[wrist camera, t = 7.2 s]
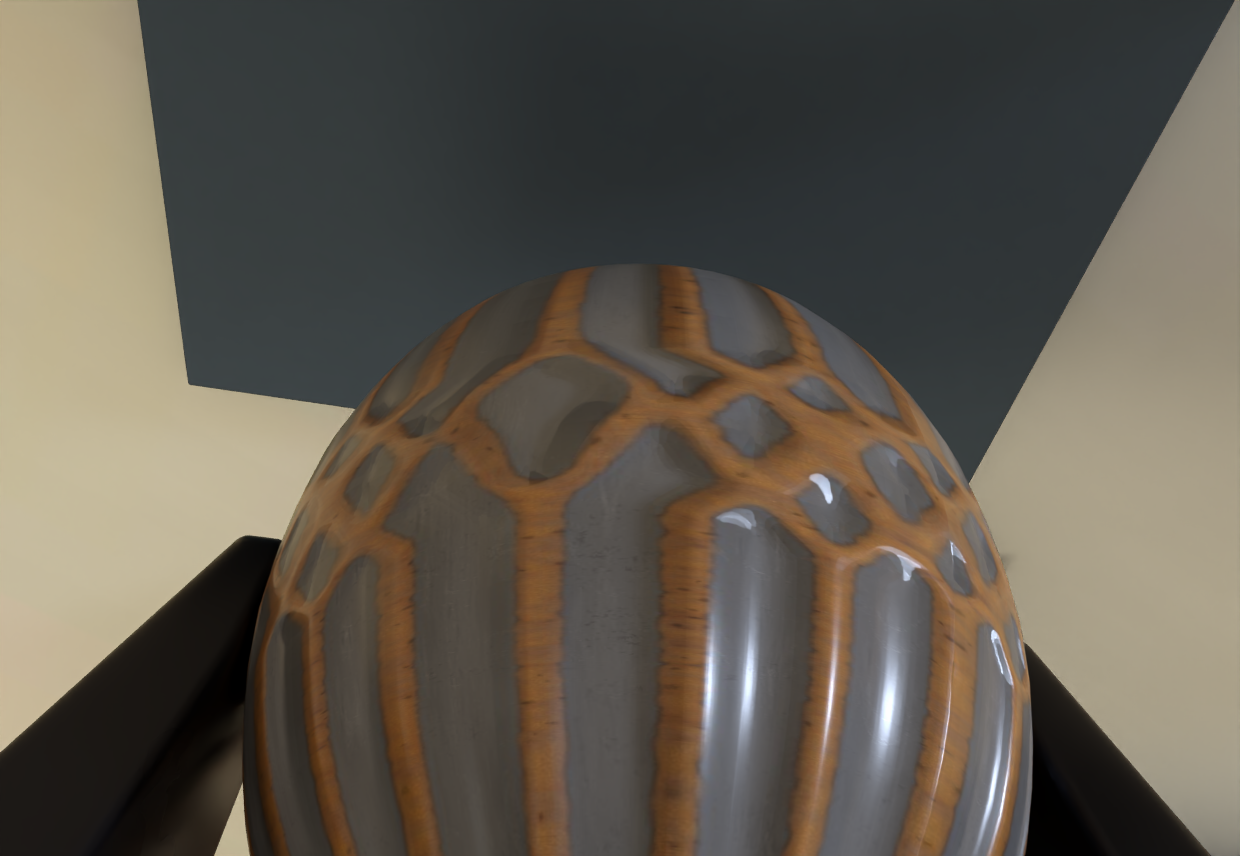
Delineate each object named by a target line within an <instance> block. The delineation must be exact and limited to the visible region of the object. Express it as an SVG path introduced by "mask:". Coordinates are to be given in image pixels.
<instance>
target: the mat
mask: <svg viewBox="0 0 1240 856" xmlns="http://www.w3.org/2000/svg"><path fill="white" fill-rule="evenodd" d="M1233 2H1234V0H138V8H139V15H140V23H141V30H142V38H143V46H144V53H145V61H146V68H147V76H148V83H149V91H150V98H151V106H152V113H153V121H154V128H155V136H156V144H157V151H158V159H159V166H160V174H161V181H162V189H163V196H164V204H165V211H166V219H167V226H168V234H169V242H170V249H171V257H172V264H173V272H174V279H175V287H176V294H177V302H178V309H179V317H180V324H181V332H182V339H183V347H184V355H185V362H186V370H187V377H188V383H189V384H190V385H195V386H202V387H209V388H216V389H223V390H230V391H237V392H244V393H251V394H257V395H264V396H271V397H278V398H285V399H292V400H299V401H306V402H313V403H319V404H326V405H333V406H340V407H347V408H354V409H356V408H357V407H358V406H359V404H360V403H361V402H362V401H363V399H364V398H365V397H366V396H367V394H368V393H369V392H370V391H371V389H372V388H373V387H374V386H375V385H376V384H377V383H378V382H379V381H380V380H381V379H382V378H383V377H384V376H385V375H386V374H387V373H388V372H389V371H390V370H391V369H392V368H393V367H394V366H395V365H396V364H397V363H398V362H399V361H400V360H402V359H403V358H404V357H405V356H406V355H407V354H408V353H409V352H410V351H411V350H412V349H413V348H415V347H416V346H417V345H418V344H419V343H421V342H422V341H423V340H424V339H425V338H426V337H428V336H429V335H431V334H432V333H433V332H435V331H436V330H438V329H439V328H440V327H442V326H443V325H445V324H446V323H448V322H449V321H451V320H453V319H454V318H456V317H457V316H459V315H461V314H462V313H464V312H466V311H467V310H469V309H471V308H472V307H474V306H476V305H477V304H479V303H481V302H482V301H484V300H486V299H488V298H490V297H492V296H494V295H496V294H499V293H501V292H503V291H505V290H507V289H510V288H512V287H515V286H518V285H520V284H523V283H525V282H528V281H532V280H535V279H538V278H541V277H544V276H548V275H552V274H556V273H561V272H565V271H569V270H575V269H581V268H587V267H593V266H604V265H615V264H659V265H672V266H681V267H690V268H696V269H701V270H706V271H712V272H716V273H720V274H724V275H728V276H732V277H736V278H739V279H742V280H745V281H748V282H751V283H754V284H757V285H760V286H762V287H764V288H767V289H769V290H772V291H774V292H776V293H779V294H781V295H783V296H785V297H787V298H789V299H791V300H793V301H795V302H797V303H798V304H800V305H802V306H803V307H805V308H807V309H808V310H810V311H811V312H813V313H814V314H816V315H817V316H819V317H821V318H822V319H824V320H825V321H827V322H828V323H830V324H831V325H833V326H834V327H836V328H837V329H839V330H840V331H842V332H843V333H845V334H846V335H848V336H849V337H850V338H851V339H853V340H854V341H855V342H856V343H858V344H859V345H860V346H861V347H863V348H864V349H865V350H866V351H867V352H868V353H869V354H870V355H872V356H873V357H874V358H875V359H876V360H877V361H878V362H879V363H880V364H881V365H882V366H883V367H884V368H885V369H886V370H887V371H888V372H889V373H890V374H891V375H892V376H893V377H894V378H895V379H896V381H897V382H898V383H899V384H900V385H901V386H902V387H903V388H904V389H905V390H906V391H907V392H908V393H909V394H910V395H911V397H912V398H913V399H914V401H915V402H916V403H917V404H918V406H919V407H920V408H921V410H922V411H923V412H924V414H925V415H926V416H927V418H928V419H929V420H930V422H931V423H932V424H933V426H934V427H935V429H936V430H937V431H938V433H939V434H940V435H941V437H942V438H943V439H944V441H945V442H946V444H947V445H948V447H949V448H950V450H951V452H952V453H953V455H954V457H955V458H956V460H957V461H958V463H959V465H960V467H961V469H962V471H963V474H964V476H965V478H966V480H967V482H968V484H969V482H970V480H971V479H972V477H973V475H974V473H975V471H976V469H977V468H978V466H979V464H980V462H981V460H982V459H983V457H984V455H985V453H986V451H987V449H988V448H989V446H990V444H991V442H992V440H993V439H994V437H995V435H996V433H997V431H998V429H999V428H1000V426H1001V424H1002V422H1003V420H1004V419H1005V417H1006V415H1007V413H1008V411H1009V409H1010V408H1011V406H1012V404H1013V402H1014V400H1015V399H1016V397H1017V395H1018V393H1019V391H1020V389H1021V388H1022V386H1023V384H1024V382H1025V380H1026V379H1027V377H1028V375H1029V373H1030V371H1031V369H1032V368H1033V366H1034V364H1035V362H1036V360H1037V359H1038V357H1039V355H1040V353H1041V351H1042V349H1043V348H1044V346H1045V344H1046V342H1047V340H1048V339H1049V337H1050V335H1051V333H1052V331H1053V329H1054V328H1055V326H1056V324H1057V322H1058V320H1059V319H1060V317H1061V315H1062V313H1063V311H1064V309H1065V308H1066V306H1067V304H1068V302H1069V300H1070V299H1071V297H1072V295H1073V293H1074V291H1075V289H1076V288H1077V286H1078V284H1079V282H1080V280H1081V279H1082V277H1083V275H1084V273H1085V271H1086V269H1087V268H1088V266H1089V264H1090V262H1091V260H1092V259H1093V257H1094V255H1095V253H1096V251H1097V249H1098V248H1099V246H1100V244H1101V242H1102V240H1103V239H1104V237H1105V235H1106V233H1107V231H1108V229H1109V228H1110V226H1111V224H1112V222H1113V220H1114V219H1115V217H1116V215H1117V213H1118V211H1119V209H1120V208H1121V206H1122V204H1123V202H1124V200H1125V199H1126V197H1127V195H1128V193H1129V191H1130V189H1131V188H1132V186H1133V184H1134V182H1135V180H1136V179H1137V177H1138V175H1139V173H1140V171H1141V169H1142V168H1143V166H1144V164H1145V162H1146V160H1147V159H1148V157H1149V155H1150V153H1151V151H1152V149H1153V148H1154V146H1155V144H1156V142H1157V140H1158V139H1159V137H1160V135H1161V133H1162V131H1163V129H1164V128H1165V126H1166V124H1167V122H1168V120H1169V119H1170V117H1171V115H1172V113H1173V111H1174V109H1175V108H1176V106H1177V104H1178V102H1179V100H1180V99H1181V97H1182V95H1183V93H1184V91H1185V89H1186V88H1187V86H1188V84H1189V82H1190V80H1191V79H1192V77H1193V75H1194V73H1195V71H1196V69H1197V68H1198V66H1199V64H1200V62H1201V60H1202V59H1203V57H1204V55H1205V53H1206V51H1207V49H1208V48H1209V46H1210V44H1211V42H1212V40H1213V39H1214V37H1215V35H1216V33H1217V31H1218V29H1219V28H1220V26H1221V24H1222V22H1223V20H1224V19H1225V17H1226V15H1227V13H1228V11H1229V9H1230V8H1231V6H1232V4H1233Z"/></svg>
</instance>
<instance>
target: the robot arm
mask: <svg viewBox="0 0 1240 856" xmlns="http://www.w3.org/2000/svg"><path fill="white" fill-rule="evenodd" d="M281 542H282V540H279V539H273V538H266V537H258V536H243V537H241V538H239V539H237V540H236V541H235V542H234V543H233V544H232V545H230V546H229V547H228V548H227V549H226V550H225V551H224V552H223V553H221V554H220V555H219V556H218V557H217V558H216V559H215V560H214V561H213V562H212V563H210V564H209V565H208V566H207V567H206V568H205V569H204V570H203V571H202V572H200V573H199V574H198V575H197V576H196V577H195V578H194V579H193V580H192V581H190V582H189V583H188V584H187V585H186V586H185V587H184V588H183V589H182V590H180V591H179V592H178V593H177V594H176V595H175V596H174V597H173V598H172V599H170V600H169V601H168V602H167V603H166V604H165V605H164V606H163V607H162V608H160V609H159V610H158V611H157V612H156V613H155V614H154V615H153V616H152V617H150V618H149V619H148V620H147V621H146V622H145V623H144V624H143V625H142V626H140V627H139V628H138V629H137V630H136V631H135V632H134V633H133V634H132V635H130V636H129V637H128V638H127V639H126V640H125V641H124V642H123V643H122V644H120V645H119V646H118V647H117V648H116V649H115V650H114V651H113V652H112V653H110V654H109V655H108V656H107V657H106V658H105V659H104V660H103V661H102V662H100V663H99V664H98V665H97V666H96V667H95V668H94V669H93V670H92V671H90V672H89V673H88V674H87V675H86V676H85V677H84V678H83V679H82V680H80V681H79V682H78V683H77V684H76V685H75V686H74V687H73V688H72V689H70V690H69V691H68V692H67V693H66V694H65V695H64V696H63V697H62V698H60V699H59V700H58V701H57V702H56V703H55V704H54V705H53V706H52V707H50V708H49V709H48V710H47V711H46V712H45V713H44V714H43V715H42V716H40V717H39V718H38V719H37V720H36V721H35V722H34V723H33V724H32V725H30V726H29V727H28V728H27V729H26V730H25V731H24V732H23V733H22V734H20V735H19V736H18V737H17V738H16V739H15V740H14V741H13V742H12V743H10V744H9V745H8V746H7V747H6V748H5V749H4V750H3V751H2V752H0V856H214V854H215V852H216V849H217V847H218V844H219V842H220V839H221V836H222V834H223V831H224V829H225V826H226V824H227V821H228V818H229V816H230V813H231V811H232V808H233V806H234V803H235V801H236V798H237V795H238V793H239V790H240V788H241V785H242V782H243V776H242V752H243V718H244V704H245V693H246V681H247V670H248V663H249V657H250V652H251V646H252V641H253V636H254V630H255V625H256V620H257V615H258V611H259V606H260V603H261V600H262V597H263V594H264V591H265V588H266V585H267V582H268V579H269V575H270V572H271V569H272V566H273V563H274V560H275V558H276V555H277V552H278V549H279V547H280V544H281ZM1024 648H1025V654H1026V661H1027V667H1028V674H1029V681H1030V696H1031V716H1032V736H1033V762H1032V794H1031V805H1030V816H1029V827H1028V837H1027V846H1026V852H1025V856H1211V855H1210V854H1209V853H1208V852H1207V851H1206V849H1205V848H1204V847H1203V846H1202V845H1201V844H1200V843H1199V841H1198V840H1197V839H1196V838H1195V837H1194V836H1193V834H1192V833H1191V832H1190V831H1189V830H1188V829H1187V828H1186V826H1185V825H1184V824H1183V823H1182V822H1181V821H1180V819H1179V818H1178V817H1177V816H1176V815H1175V814H1174V813H1173V811H1172V810H1171V809H1170V808H1169V807H1168V806H1167V805H1166V803H1165V802H1164V801H1163V800H1162V799H1161V798H1160V796H1159V795H1158V794H1157V793H1156V792H1155V791H1154V790H1153V788H1152V787H1151V786H1150V785H1149V784H1148V783H1147V781H1146V780H1145V779H1144V778H1143V777H1142V776H1141V775H1140V773H1139V772H1138V771H1137V770H1136V769H1135V768H1134V766H1133V765H1132V764H1131V763H1130V762H1129V761H1128V760H1127V758H1126V757H1125V756H1124V755H1123V754H1122V753H1121V751H1120V750H1119V749H1118V748H1117V747H1116V746H1115V745H1114V743H1113V742H1112V741H1111V740H1110V739H1109V738H1108V736H1107V735H1106V734H1105V733H1104V732H1103V731H1102V730H1101V728H1100V727H1099V726H1098V725H1097V724H1096V723H1095V721H1094V720H1093V719H1092V718H1091V717H1090V716H1089V715H1088V713H1087V712H1086V711H1085V710H1084V709H1083V708H1082V707H1081V705H1080V704H1079V703H1078V702H1077V701H1076V700H1075V698H1074V697H1073V696H1072V695H1071V694H1070V693H1069V692H1068V690H1067V689H1066V688H1065V687H1064V686H1063V685H1062V683H1061V682H1060V681H1059V680H1058V679H1057V678H1056V677H1055V675H1054V674H1053V673H1052V672H1051V671H1050V670H1049V668H1048V667H1047V666H1046V665H1045V664H1044V663H1043V662H1042V660H1041V659H1040V658H1039V657H1038V656H1037V655H1036V653H1035V652H1034V651H1033V650H1032V649H1031V648H1030V647H1029V646H1028V645H1027V644H1025V643H1024Z"/></svg>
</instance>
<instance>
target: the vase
mask: <svg viewBox="0 0 1240 856" xmlns="http://www.w3.org/2000/svg"><path fill="white" fill-rule="evenodd" d="M1032 762H1033V736H1032V716H1031V696H1030V681H1029V674H1028V667H1027V661H1026V654H1025V648H1024V641H1023V636H1022V630H1021V625H1020V621H1019V617H1018V614H1017V610H1016V607H1015V603H1014V600H1013V596H1012V593H1011V589H1010V586H1009V582H1008V579H1007V576H1006V573H1005V570H1004V567H1003V564H1002V561H1001V558H1000V555H999V553H998V550H997V548H996V545H995V543H994V540H993V537H992V535H991V532H990V530H989V527H988V525H987V522H986V519H985V517H984V515H983V513H982V511H981V509H980V507H979V504H978V502H977V500H976V498H975V496H974V494H973V492H972V490H971V488H970V486H969V484H968V482H967V480H966V478H965V476H964V474H963V471H962V469H961V467H960V465H959V463H958V461H957V460H956V458H955V457H954V455H953V453H952V452H951V450H950V448H949V447H948V445H947V444H946V442H945V441H944V439H943V438H942V437H941V435H940V434H939V433H938V431H937V430H936V429H935V427H934V426H933V424H932V423H931V422H930V420H929V419H928V418H927V416H926V415H925V414H924V412H923V411H922V410H921V408H920V407H919V406H918V404H917V403H916V402H915V401H914V399H913V398H912V397H911V395H910V394H909V393H908V392H907V391H906V390H905V389H904V388H903V387H902V386H901V385H900V384H899V383H898V382H897V381H896V379H895V378H894V377H893V376H892V375H891V374H890V373H889V372H888V371H887V370H886V369H885V368H884V367H883V366H882V365H881V364H880V363H879V362H878V361H877V360H876V359H875V358H874V357H873V356H872V355H870V354H869V353H868V352H867V351H866V350H865V349H864V348H863V347H861V346H860V345H859V344H858V343H856V342H855V341H854V340H853V339H851V338H850V337H849V336H848V335H846V334H845V333H843V332H842V331H840V330H839V329H837V328H836V327H834V326H833V325H831V324H830V323H828V322H827V321H825V320H824V319H822V318H821V317H819V316H817V315H816V314H814V313H813V312H811V311H810V310H808V309H807V308H805V307H803V306H802V305H800V304H798V303H797V302H795V301H793V300H791V299H789V298H787V297H785V296H783V295H781V294H779V293H776V292H774V291H772V290H769V289H767V288H764V287H762V286H760V285H757V284H754V283H751V282H748V281H745V280H742V279H739V278H736V277H732V276H728V275H724V274H720V273H716V272H712V271H706V270H701V269H696V268H690V267H681V266H672V265H659V264H615V265H604V266H593V267H587V268H581V269H575V270H569V271H565V272H561V273H556V274H552V275H548V276H544V277H541V278H538V279H535V280H532V281H528V282H525V283H523V284H520V285H518V286H515V287H512V288H510V289H507V290H505V291H503V292H501V293H499V294H496V295H494V296H492V297H490V298H488V299H486V300H484V301H482V302H481V303H479V304H477V305H476V306H474V307H472V308H471V309H469V310H467V311H466V312H464V313H462V314H461V315H459V316H457V317H456V318H454V319H453V320H451V321H449V322H448V323H446V324H445V325H443V326H442V327H440V328H439V329H438V330H436V331H435V332H433V333H432V334H431V335H429V336H428V337H426V338H425V339H424V340H423V341H422V342H421V343H419V344H418V345H417V346H416V347H415V348H413V349H412V350H411V351H410V352H409V353H408V354H407V355H406V356H405V357H404V358H403V359H402V360H400V361H399V362H398V363H397V364H396V365H395V366H394V367H393V368H392V369H391V370H390V371H389V372H388V373H387V374H386V375H385V376H384V377H383V378H382V379H381V380H380V381H379V382H378V383H377V384H376V385H375V386H374V387H373V388H372V389H371V391H370V392H369V393H368V394H367V396H366V397H365V398H364V399H363V401H362V402H361V403H360V404H359V406H358V407H357V408H356V409H355V411H354V412H353V413H352V415H351V416H350V417H349V418H348V420H347V421H346V422H345V424H344V425H343V426H342V427H341V429H340V430H339V431H338V432H337V434H336V435H335V437H334V438H333V440H332V441H331V443H330V445H329V446H328V448H327V449H326V451H325V452H324V454H323V456H322V458H321V460H320V462H319V464H318V466H317V468H316V470H315V471H314V473H313V475H312V477H311V479H310V481H309V483H308V485H307V487H306V488H305V490H304V492H303V495H302V497H301V499H300V501H299V503H298V505H297V507H296V509H295V511H294V514H293V516H292V518H291V521H290V523H289V525H288V528H287V530H286V532H285V535H284V537H283V539H282V542H281V544H280V547H279V549H278V552H277V555H276V558H275V560H274V563H273V566H272V569H271V572H270V575H269V579H268V582H267V585H266V588H265V591H264V594H263V597H262V600H261V603H260V606H259V611H258V615H257V620H256V625H255V630H254V636H253V641H252V646H251V652H250V657H249V663H248V670H247V681H246V693H245V704H244V718H243V752H242V776H243V795H244V813H245V825H246V833H247V840H248V847H249V854H250V856H1025V852H1026V846H1027V837H1028V827H1029V816H1030V805H1031V794H1032Z"/></svg>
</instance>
